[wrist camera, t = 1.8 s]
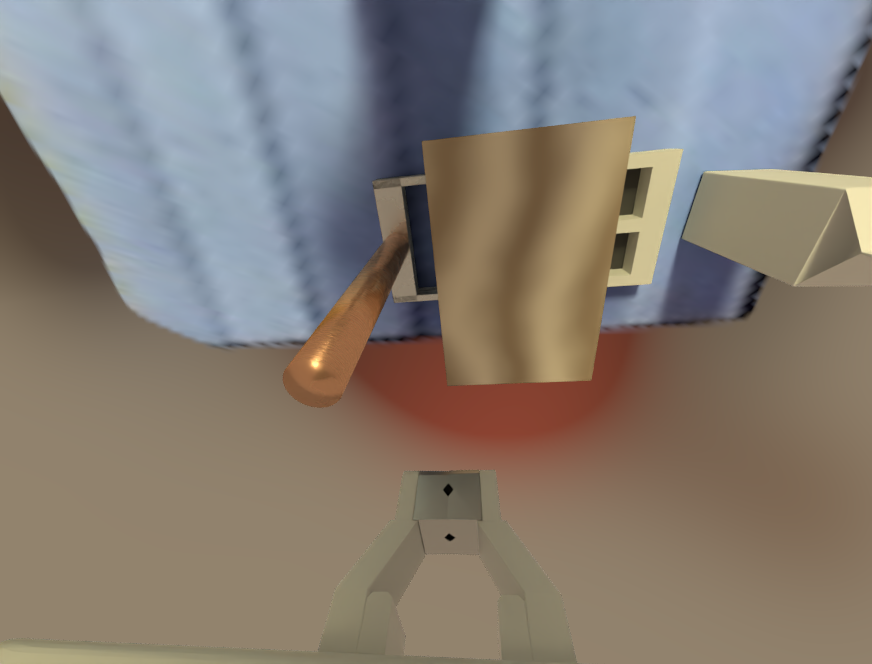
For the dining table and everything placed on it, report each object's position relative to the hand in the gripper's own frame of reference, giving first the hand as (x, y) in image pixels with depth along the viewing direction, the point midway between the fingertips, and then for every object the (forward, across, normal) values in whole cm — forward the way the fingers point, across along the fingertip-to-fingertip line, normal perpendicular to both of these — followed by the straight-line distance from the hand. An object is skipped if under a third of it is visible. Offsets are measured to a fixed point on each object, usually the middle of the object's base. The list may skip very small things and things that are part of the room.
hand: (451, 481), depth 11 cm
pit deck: (+33, -18, 0) cm, 38 cm away
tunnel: (+33, -5, 0) cm, 34 cm away
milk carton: (+34, -30, -1) cm, 45 cm away
